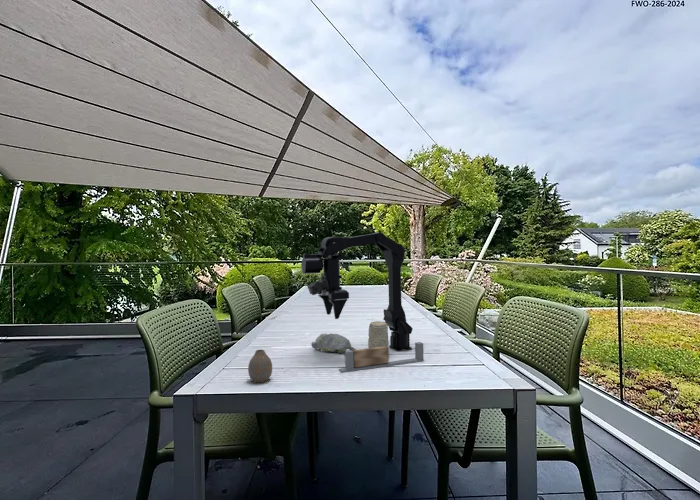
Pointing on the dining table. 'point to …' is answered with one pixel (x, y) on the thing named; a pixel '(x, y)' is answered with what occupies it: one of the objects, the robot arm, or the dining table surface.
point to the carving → (378, 334)
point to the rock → (331, 343)
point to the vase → (260, 367)
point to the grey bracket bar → (350, 363)
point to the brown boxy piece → (370, 356)
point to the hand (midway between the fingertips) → (332, 316)
